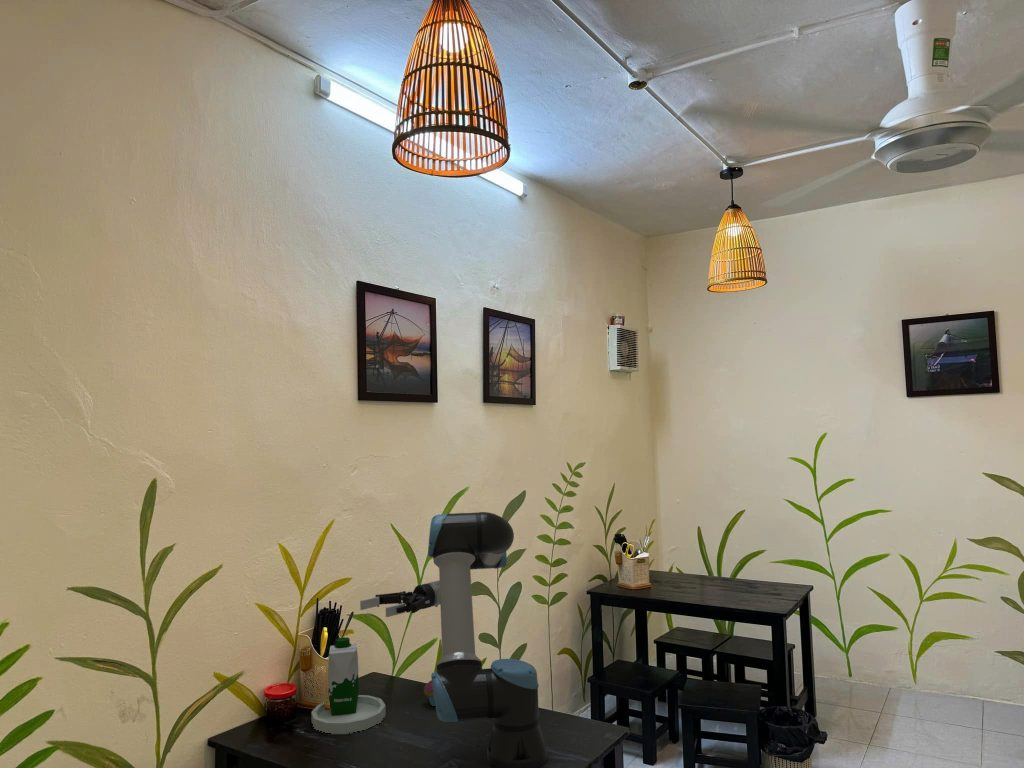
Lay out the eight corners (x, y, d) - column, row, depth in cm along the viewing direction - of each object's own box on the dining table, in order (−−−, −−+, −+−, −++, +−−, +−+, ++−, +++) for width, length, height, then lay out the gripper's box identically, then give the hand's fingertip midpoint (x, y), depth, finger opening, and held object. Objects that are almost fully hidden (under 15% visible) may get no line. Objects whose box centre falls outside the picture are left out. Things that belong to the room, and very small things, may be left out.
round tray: (399, 714, 209) (398, 703, 209) (345, 740, 192) (345, 728, 192) (352, 700, 221) (351, 690, 221) (297, 724, 204) (297, 713, 204)
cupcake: (457, 701, 217) (456, 661, 218) (440, 711, 210) (439, 670, 210) (435, 697, 221) (434, 657, 222) (418, 706, 214) (417, 666, 215)
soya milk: (359, 702, 215) (357, 635, 217) (359, 714, 207) (357, 644, 208) (329, 706, 214) (328, 638, 215) (328, 717, 205) (326, 647, 206)
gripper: (454, 613, 220) (398, 628, 205) (406, 601, 238) (351, 614, 223) (453, 588, 221) (397, 602, 206) (405, 578, 238) (350, 590, 223)
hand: (373, 608), depth 214 cm, fingers open, 13 cm apart
